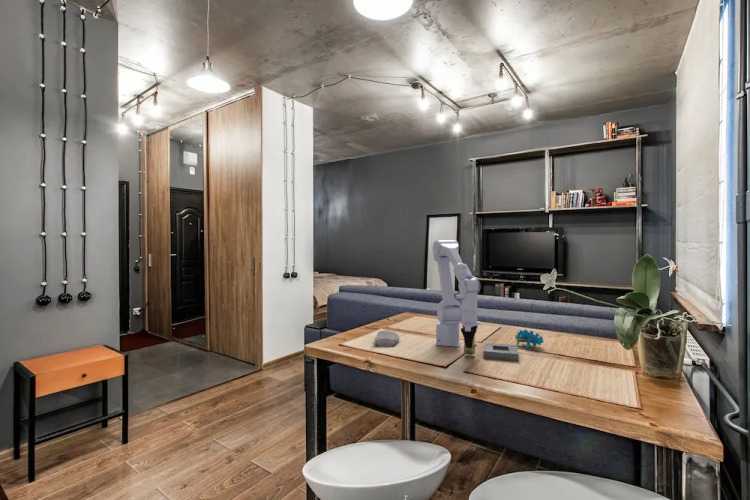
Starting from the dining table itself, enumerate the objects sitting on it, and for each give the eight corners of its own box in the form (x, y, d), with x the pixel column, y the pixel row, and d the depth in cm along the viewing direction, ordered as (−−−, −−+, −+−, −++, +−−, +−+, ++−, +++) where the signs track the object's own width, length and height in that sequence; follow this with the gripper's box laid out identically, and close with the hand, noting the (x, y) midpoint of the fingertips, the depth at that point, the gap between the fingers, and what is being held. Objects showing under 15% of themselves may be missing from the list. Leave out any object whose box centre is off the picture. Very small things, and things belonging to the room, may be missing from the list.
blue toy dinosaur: (548, 343, 145) (537, 328, 141) (545, 356, 142) (534, 341, 138) (521, 341, 153) (511, 327, 149) (518, 353, 150) (507, 339, 146)
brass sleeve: (463, 354, 134) (463, 335, 134) (464, 350, 138) (464, 332, 138) (474, 355, 133) (474, 336, 132) (475, 351, 136) (475, 333, 136)
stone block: (398, 343, 160) (376, 338, 161) (400, 332, 160) (378, 328, 161) (396, 352, 149) (373, 346, 150) (399, 341, 148) (375, 335, 149)
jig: (483, 358, 132) (483, 351, 132) (484, 348, 144) (484, 342, 144) (518, 361, 128) (518, 354, 128) (517, 351, 140) (517, 345, 140)
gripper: (479, 314, 127) (479, 352, 127) (481, 307, 140) (481, 341, 141) (458, 313, 129) (459, 350, 129) (463, 306, 143) (463, 340, 143)
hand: (469, 346), depth 135 cm, fingers closed on brass sleeve, 4 cm apart
